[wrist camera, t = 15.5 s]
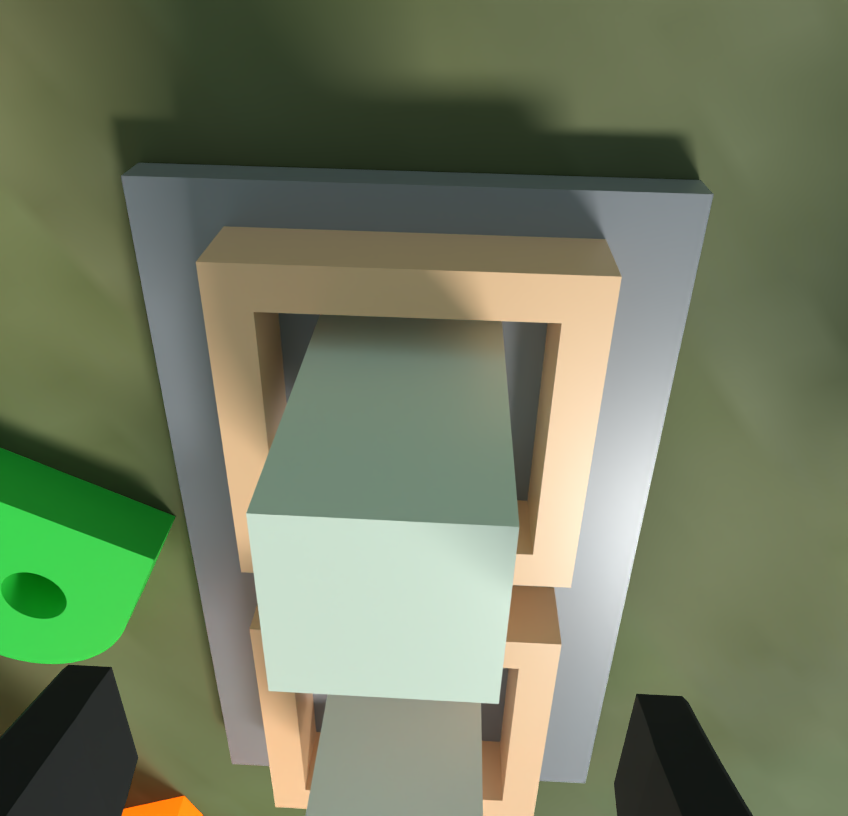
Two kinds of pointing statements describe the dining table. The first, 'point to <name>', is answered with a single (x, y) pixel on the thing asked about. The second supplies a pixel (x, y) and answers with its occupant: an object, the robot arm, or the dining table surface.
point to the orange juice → (164, 808)
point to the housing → (527, 391)
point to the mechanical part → (69, 562)
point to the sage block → (389, 514)
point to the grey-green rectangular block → (398, 758)
